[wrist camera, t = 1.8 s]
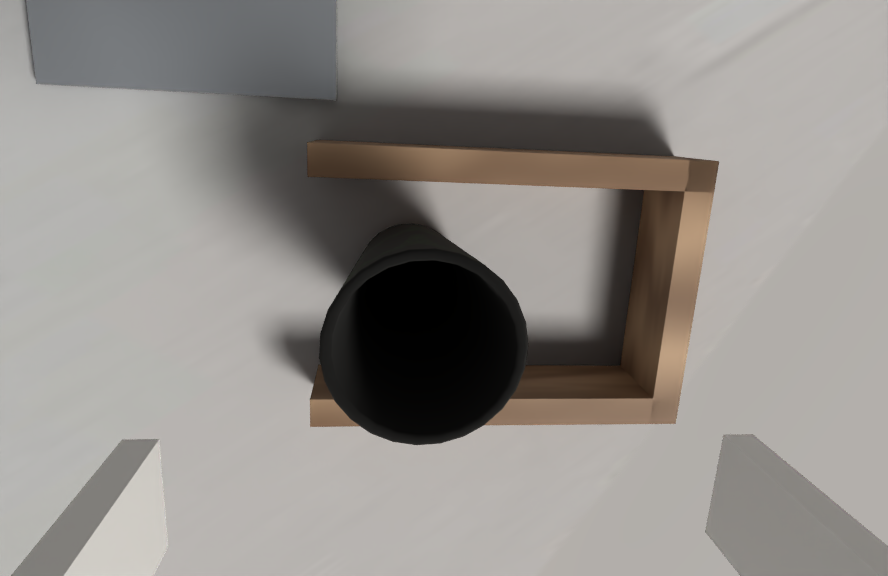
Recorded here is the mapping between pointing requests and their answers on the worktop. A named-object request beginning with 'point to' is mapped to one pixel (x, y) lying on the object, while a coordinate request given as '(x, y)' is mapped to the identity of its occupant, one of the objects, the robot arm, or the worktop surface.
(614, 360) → the worktop surface
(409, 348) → the cup
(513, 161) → the wooden frame
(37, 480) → the worktop surface
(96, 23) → the coaster
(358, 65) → the worktop surface
